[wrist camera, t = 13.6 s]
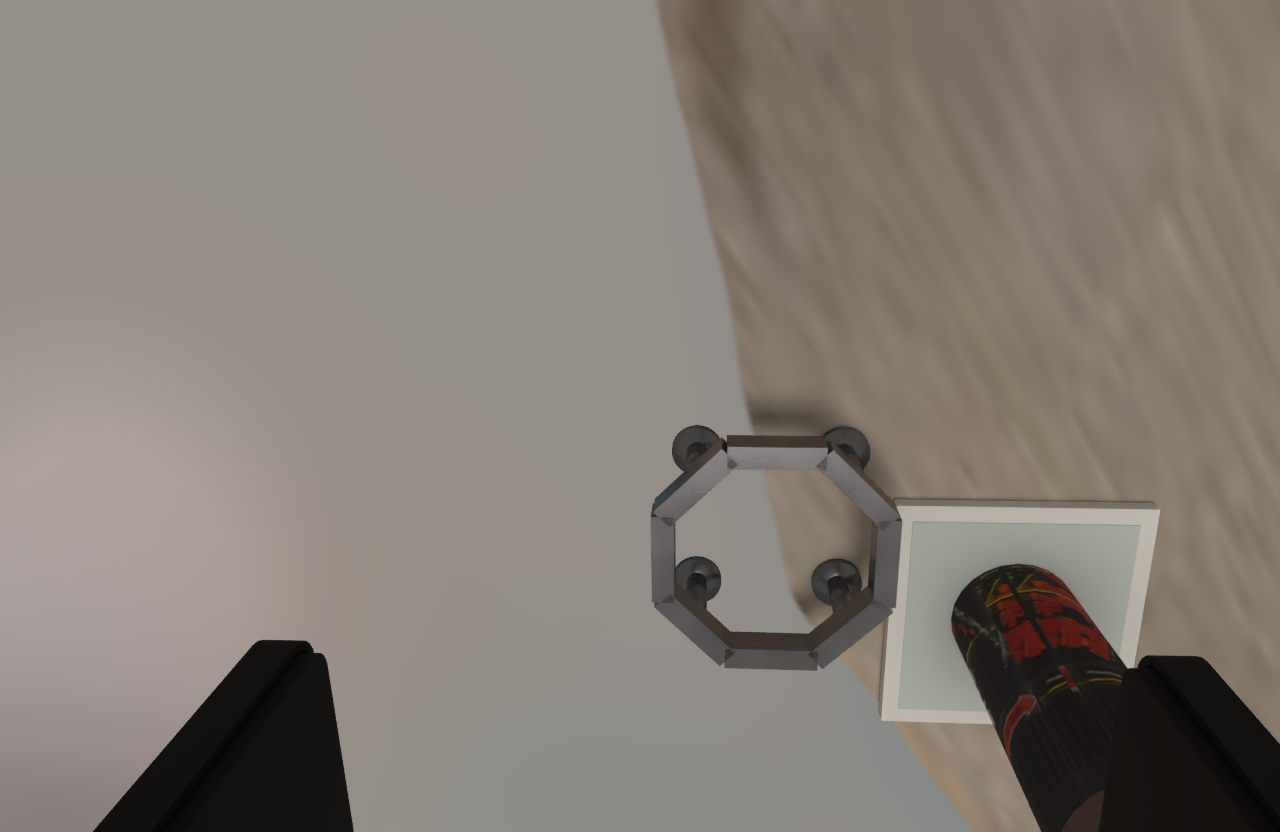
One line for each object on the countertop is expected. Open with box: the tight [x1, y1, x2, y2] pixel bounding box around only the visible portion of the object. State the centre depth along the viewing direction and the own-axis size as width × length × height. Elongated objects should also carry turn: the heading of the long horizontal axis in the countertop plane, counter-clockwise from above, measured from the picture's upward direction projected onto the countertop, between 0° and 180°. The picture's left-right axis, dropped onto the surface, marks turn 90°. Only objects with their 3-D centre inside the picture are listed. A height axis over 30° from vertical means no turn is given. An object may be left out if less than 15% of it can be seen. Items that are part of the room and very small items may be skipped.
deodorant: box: [951, 564, 1128, 832], centre depth 38 cm, size 6×6×15 cm
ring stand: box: [651, 425, 902, 671], centre depth 43 cm, size 11×11×5 cm
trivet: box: [879, 499, 1160, 724], centre depth 46 cm, size 12×12×1 cm
